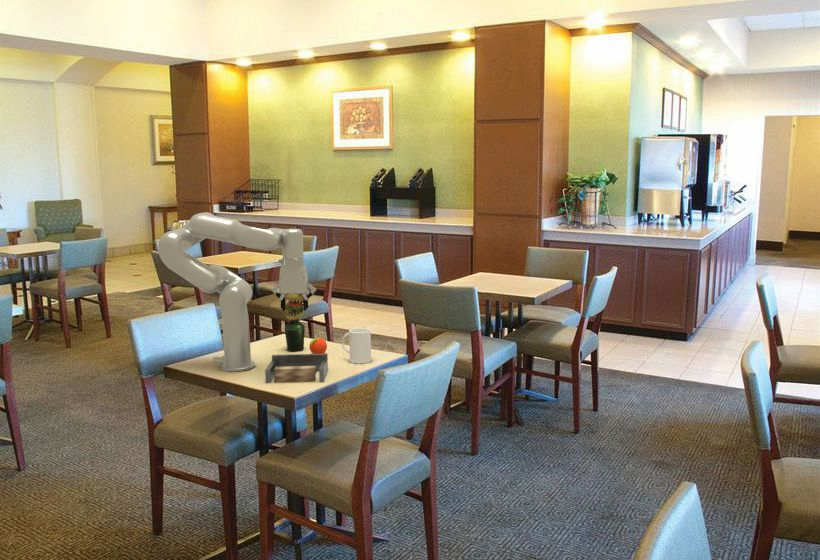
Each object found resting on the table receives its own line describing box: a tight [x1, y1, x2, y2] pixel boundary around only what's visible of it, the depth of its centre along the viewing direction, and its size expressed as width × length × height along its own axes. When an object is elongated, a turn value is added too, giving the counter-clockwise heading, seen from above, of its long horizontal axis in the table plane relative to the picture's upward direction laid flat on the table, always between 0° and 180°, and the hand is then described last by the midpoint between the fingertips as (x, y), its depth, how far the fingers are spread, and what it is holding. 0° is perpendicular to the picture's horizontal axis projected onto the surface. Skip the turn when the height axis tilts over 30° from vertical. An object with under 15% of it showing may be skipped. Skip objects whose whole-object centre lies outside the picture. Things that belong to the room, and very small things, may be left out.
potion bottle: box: [284, 319, 305, 353], centre depth 282 cm, size 8×8×18 cm
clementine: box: [308, 337, 328, 354], centre depth 274 cm, size 8×7×7 cm
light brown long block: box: [273, 366, 317, 383], centre depth 241 cm, size 14×3×5 cm, turn 92°
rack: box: [264, 353, 329, 384], centre depth 247 cm, size 20×15×6 cm
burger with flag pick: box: [284, 294, 304, 321], centre depth 256 cm, size 8×7×12 cm
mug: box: [341, 327, 373, 365], centre depth 265 cm, size 12×8×12 cm
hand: (294, 310), depth 256 cm, fingers closed on burger with flag pick, 7 cm apart
